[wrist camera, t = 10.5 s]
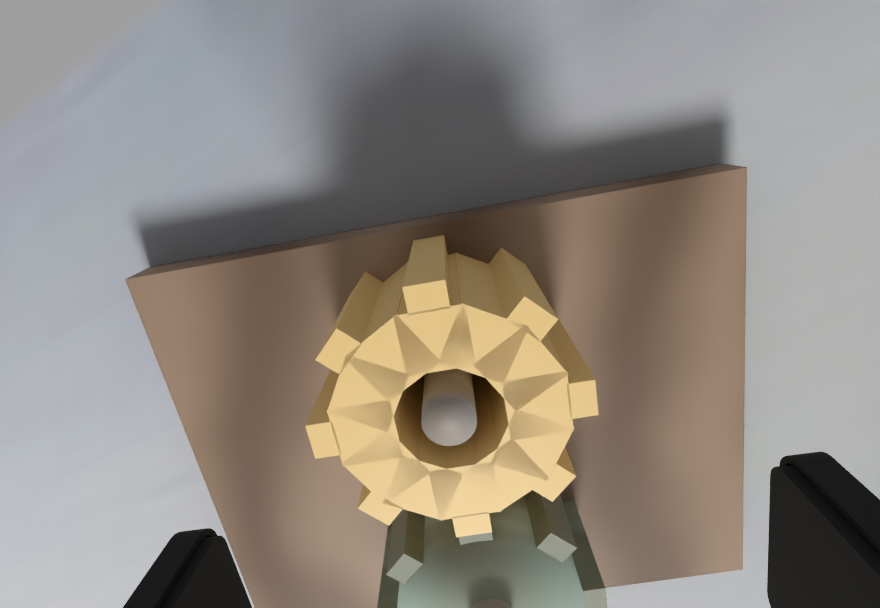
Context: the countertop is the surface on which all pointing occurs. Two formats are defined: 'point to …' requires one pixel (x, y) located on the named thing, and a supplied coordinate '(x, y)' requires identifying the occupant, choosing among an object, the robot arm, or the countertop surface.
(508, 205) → the gear board
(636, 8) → the countertop surface
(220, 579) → the robot arm
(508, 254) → the ochre gear
